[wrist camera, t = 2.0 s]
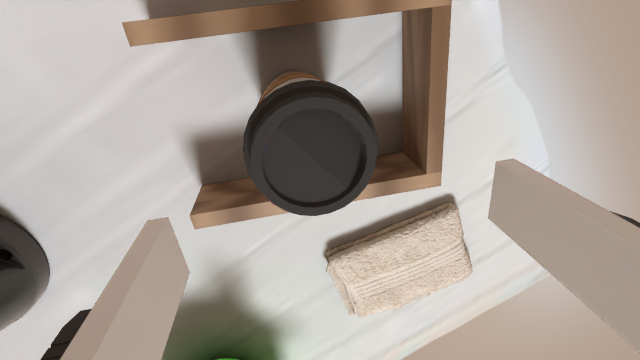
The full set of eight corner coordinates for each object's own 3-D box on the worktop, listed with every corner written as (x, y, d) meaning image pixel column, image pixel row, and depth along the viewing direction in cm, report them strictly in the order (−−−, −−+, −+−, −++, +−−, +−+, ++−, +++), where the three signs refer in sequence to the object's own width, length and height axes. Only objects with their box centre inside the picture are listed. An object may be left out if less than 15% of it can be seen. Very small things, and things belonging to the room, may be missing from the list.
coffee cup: (293, 38, 29) (314, 50, 16) (353, 102, 33) (413, 156, 19) (233, 105, 31) (208, 167, 18) (296, 159, 34) (315, 245, 21)
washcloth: (317, 250, 41) (321, 267, 38) (450, 194, 40) (464, 207, 37) (349, 310, 46) (354, 328, 43) (466, 261, 45) (479, 276, 43)
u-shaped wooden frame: (205, 197, 35) (194, 229, 29) (150, 23, 27) (121, 22, 22) (415, 162, 37) (440, 185, 31) (418, -11, 29) (452, -19, 24)
